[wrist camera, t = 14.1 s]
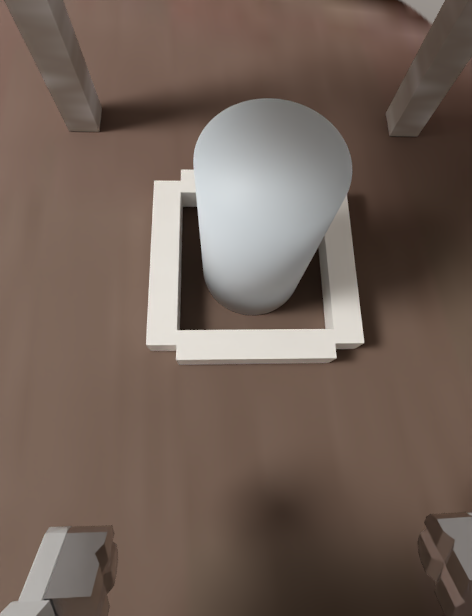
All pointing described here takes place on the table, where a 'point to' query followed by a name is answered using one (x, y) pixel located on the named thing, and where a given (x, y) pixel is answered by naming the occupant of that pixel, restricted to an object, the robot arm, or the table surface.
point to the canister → (265, 199)
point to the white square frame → (247, 343)
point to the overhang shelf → (87, 109)
